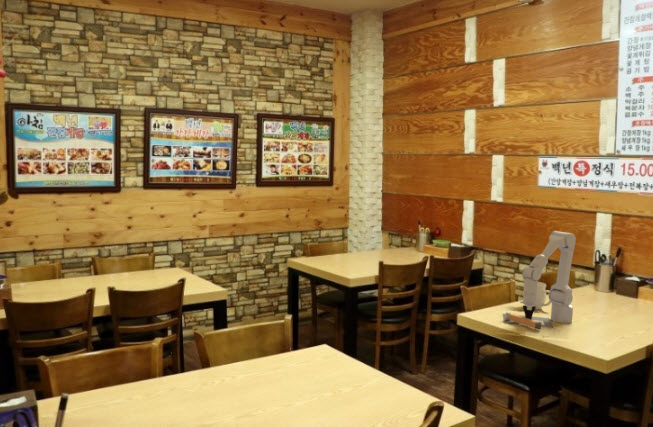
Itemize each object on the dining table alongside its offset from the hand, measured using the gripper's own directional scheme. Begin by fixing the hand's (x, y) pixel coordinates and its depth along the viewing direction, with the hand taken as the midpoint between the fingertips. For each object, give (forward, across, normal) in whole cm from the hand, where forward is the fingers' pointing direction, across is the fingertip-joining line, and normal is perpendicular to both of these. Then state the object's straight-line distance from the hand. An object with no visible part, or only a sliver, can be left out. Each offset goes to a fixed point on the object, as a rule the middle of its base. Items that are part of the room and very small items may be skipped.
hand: (528, 321), depth 264 cm
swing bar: (+1, +3, -1) cm, 3 cm away
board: (+3, -8, 0) cm, 9 cm away
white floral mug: (+3, -40, +4) cm, 40 cm away
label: (+2, -5, +4) cm, 7 cm away
